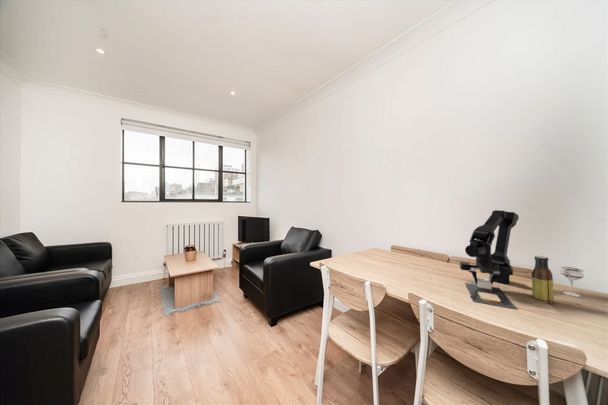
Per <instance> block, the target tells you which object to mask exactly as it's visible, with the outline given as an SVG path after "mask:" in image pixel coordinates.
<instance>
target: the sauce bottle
mask: <svg viewBox="0 0 608 405" xmlns="http://www.w3.org/2000/svg"><path fill="white" fill-rule="evenodd" d="M534 262H535V264H534V268H533V270H532V272H531V287H532V297H533V298H534V299H535V300H538V301H541V302H542V301H543V302H545V303H547V304H548V305H549V304H551V305H552V304H553V303H554V302H555V301H554V300H555V298H554V296H555V295H554V280H553V278H554V277H553V273H552V270H550V268H549V257H548V256H543V255H534Z"/></svg>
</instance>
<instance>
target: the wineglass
mask: <svg viewBox="0 0 608 405" xmlns="http://www.w3.org/2000/svg"><path fill="white" fill-rule="evenodd" d="M560 269H561V270H559V271H560V275H561V276H562V277H563V278H565V279H567V280H568V281H569V282H570V283H569V284H570V291H563V294H565V295H568V296H572V297H581V295H580V294H578V293H575V292H573V287H574V285H573V284H574V282H575V281H579V280H582V279H583V278H584V273H583V272H584V269H580V268H576V267H570V266H560Z"/></svg>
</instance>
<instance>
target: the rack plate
mask: <svg viewBox="0 0 608 405" xmlns="http://www.w3.org/2000/svg"><path fill="white" fill-rule="evenodd" d="M464 284H465V287H466V289H467V290H468V293H469V295H470V299H471V301H472V302H474V303H479V304H484V305H490V306H496V307H502V308H508V309H511V310H516V308H517V307H516V305H514V303H513V302H512V301H511V299H510V298H508V296H507V294H505V292H503V290H502V289H501V288H500V287H496V286H495V287H494V286H491V289H487V288H480V287H478V286H477V285H476V284H471V282H470V283H469V282H464ZM479 293H484V294H491V295H495V296H497V298H498V299H499V301H498V300H492V299H486V298H482V297H481V295H480V294H479Z"/></svg>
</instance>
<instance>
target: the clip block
mask: <svg viewBox="0 0 608 405" xmlns="http://www.w3.org/2000/svg"><path fill="white" fill-rule="evenodd" d="M476 285H477V286H478V287H480V288H487V289H491V287H492V286H491V282H490V281H489V278H480V277H477V284H476Z"/></svg>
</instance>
